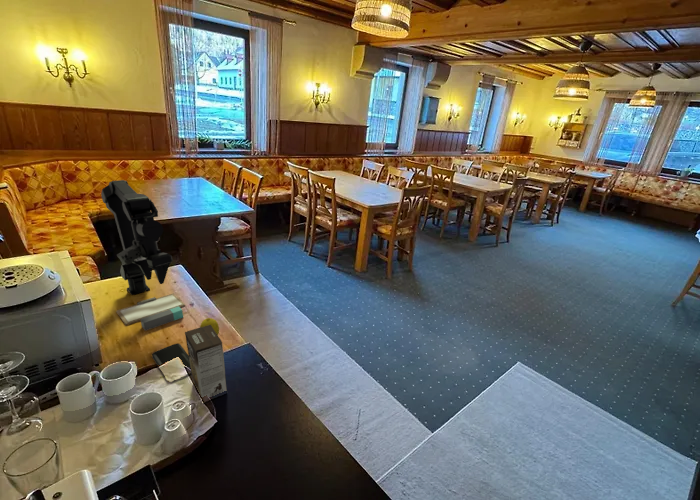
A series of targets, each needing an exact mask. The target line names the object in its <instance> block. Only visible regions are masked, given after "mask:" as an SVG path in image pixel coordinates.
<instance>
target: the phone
mask: <svg viewBox="0 0 700 500" xmlns="http://www.w3.org/2000/svg"><path fill="white" fill-rule="evenodd" d="M176 357H179V358H180V359H181V360H182V362H183V364H184V365H185V366H187V367H190V361H189V355H188V352H187V351H186V350H185V349H184V348H183V345H182V344H181V343H174V344H171V345H169V346H166V347H163V348H160V349H158V350H155V351H153V352H152V353H151V358H152V359H153V361H154V362H155V365H156V366H157V365H161V364H163V363H165V362H167V361H170V360H172V359H173V358H176ZM190 368H191V367H190Z"/></svg>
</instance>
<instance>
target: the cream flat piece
mask: <svg viewBox="0 0 700 500" xmlns="http://www.w3.org/2000/svg"><path fill="white" fill-rule="evenodd" d="M178 306H179V307H180V308H183V307H185V306H186V304H185V303H184V301H182V300H181V299H180V298H179V297H178V296H177V295H176V294H175V293H169V294H167V295H163V296H160V297H156V296H153V297H150V298H148V299H143V300H140V301H137V302H136V304H134V305H131V306H130V305H129V306H127V307H123V308H121V309H117V310H115V312H116V314H117V315H118V316H119V317H120V319H121V320H122V322H123V323H124V325H125V326H129V325H132V324H135V323H137V322H138V323H139V322H141V320H140V319H142V318H145V317H148V316H151V315H154V314H157V313H160V312H163V311H166V310H169V309H172V308H175V307H178Z"/></svg>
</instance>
